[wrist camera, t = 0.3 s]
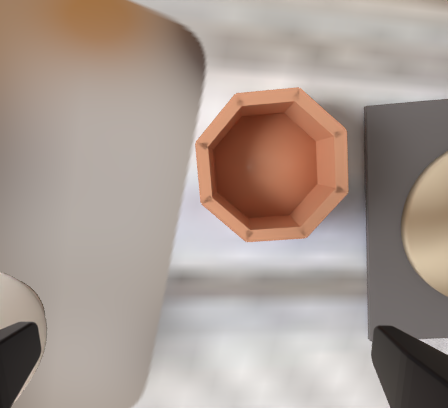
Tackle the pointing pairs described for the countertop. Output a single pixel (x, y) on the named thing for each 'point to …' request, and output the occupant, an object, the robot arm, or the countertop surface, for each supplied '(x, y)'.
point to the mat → (400, 214)
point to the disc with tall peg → (428, 225)
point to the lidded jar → (21, 311)
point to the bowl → (272, 165)
